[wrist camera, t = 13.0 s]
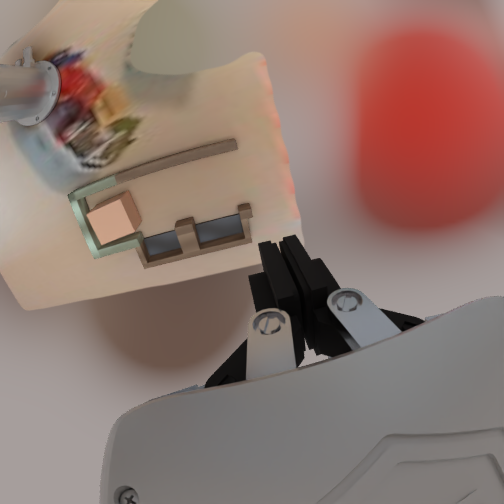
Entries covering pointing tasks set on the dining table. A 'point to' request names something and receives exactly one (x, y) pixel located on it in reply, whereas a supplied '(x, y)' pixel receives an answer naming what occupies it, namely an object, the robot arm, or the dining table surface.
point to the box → (186, 232)
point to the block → (114, 218)
